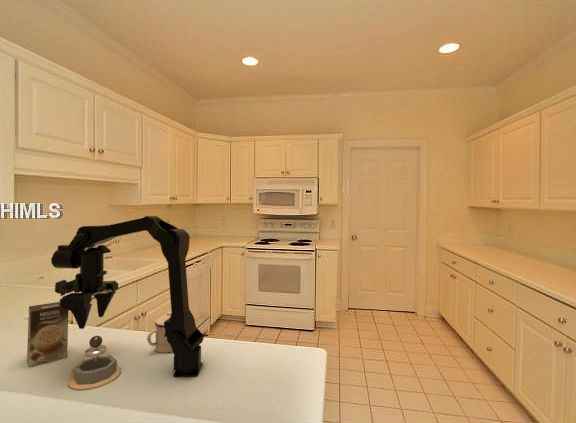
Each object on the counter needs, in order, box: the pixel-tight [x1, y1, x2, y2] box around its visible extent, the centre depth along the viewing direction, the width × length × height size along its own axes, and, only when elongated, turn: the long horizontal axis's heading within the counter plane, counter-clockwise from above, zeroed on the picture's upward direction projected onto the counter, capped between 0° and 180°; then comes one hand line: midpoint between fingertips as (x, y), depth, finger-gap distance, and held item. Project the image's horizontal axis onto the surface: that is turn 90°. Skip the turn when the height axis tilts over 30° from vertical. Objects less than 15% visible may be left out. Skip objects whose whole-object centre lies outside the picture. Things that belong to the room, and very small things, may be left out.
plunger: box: [84, 335, 108, 362], centre depth 80 cm, size 5×5×7 cm
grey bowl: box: [67, 355, 122, 391], centre depth 80 cm, size 12×12×4 cm
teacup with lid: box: [146, 310, 173, 354], centre depth 97 cm, size 12×9×12 cm
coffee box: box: [26, 301, 69, 368], centre depth 89 cm, size 9×6×16 cm
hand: (91, 322), depth 86 cm, fingers open, 9 cm apart
